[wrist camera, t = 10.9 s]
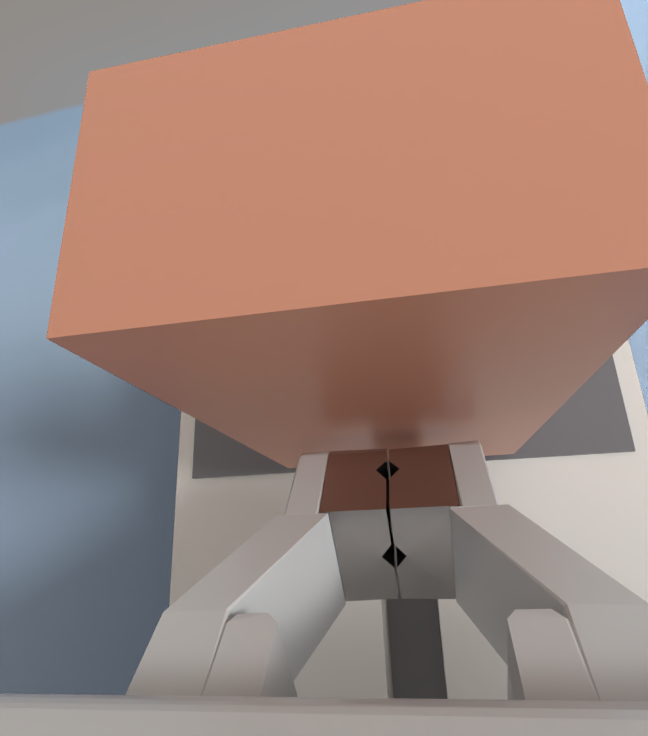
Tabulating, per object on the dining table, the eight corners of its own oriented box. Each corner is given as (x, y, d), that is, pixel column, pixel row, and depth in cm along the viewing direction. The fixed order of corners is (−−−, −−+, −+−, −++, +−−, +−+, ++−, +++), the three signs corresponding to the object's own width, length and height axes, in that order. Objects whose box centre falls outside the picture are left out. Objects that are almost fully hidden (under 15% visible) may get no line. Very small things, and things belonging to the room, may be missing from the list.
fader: (484, 353, 13) (606, -39, 4) (502, 466, 12) (704, 261, 3) (302, 370, 14) (88, 71, 5) (305, 477, 13) (45, 338, 4)
